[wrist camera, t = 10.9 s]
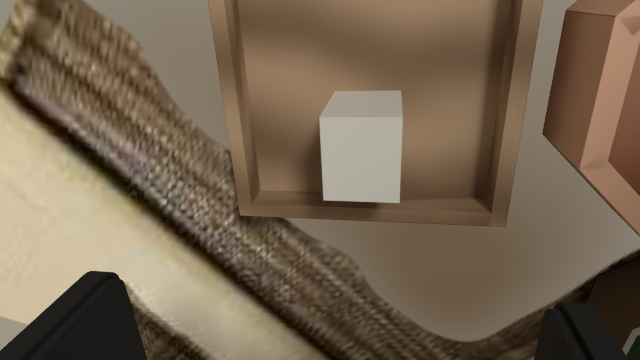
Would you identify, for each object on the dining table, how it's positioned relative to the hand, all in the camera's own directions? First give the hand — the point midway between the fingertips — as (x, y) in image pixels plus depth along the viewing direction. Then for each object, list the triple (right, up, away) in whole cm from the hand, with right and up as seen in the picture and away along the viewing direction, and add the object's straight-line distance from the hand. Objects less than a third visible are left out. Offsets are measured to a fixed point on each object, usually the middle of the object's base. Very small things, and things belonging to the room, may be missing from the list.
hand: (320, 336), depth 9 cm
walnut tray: (+3, +11, +12) cm, 16 cm away
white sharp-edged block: (+3, +6, +13) cm, 15 cm away
